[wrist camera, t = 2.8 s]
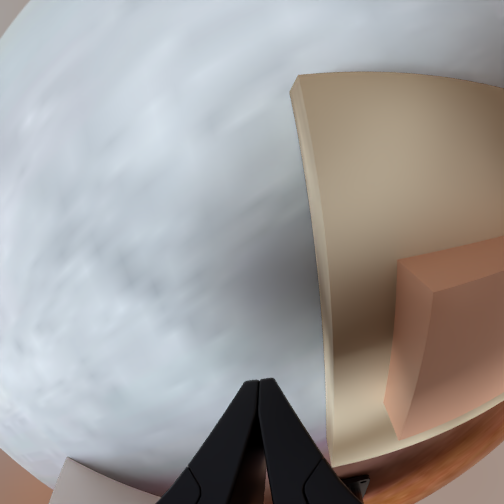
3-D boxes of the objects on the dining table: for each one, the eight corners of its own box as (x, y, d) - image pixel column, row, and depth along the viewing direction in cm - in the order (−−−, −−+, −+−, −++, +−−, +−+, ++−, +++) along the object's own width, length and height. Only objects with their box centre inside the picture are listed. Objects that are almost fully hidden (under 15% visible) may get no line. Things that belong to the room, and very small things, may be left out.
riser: (496, 377, 12) (510, 395, 10) (326, 438, 13) (331, 467, 11) (530, 106, 7) (559, 106, 5) (289, 91, 8) (298, 75, 6)
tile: (529, 338, 8) (550, 359, 6) (383, 402, 9) (398, 440, 7) (556, 221, 6) (586, 236, 5) (397, 259, 7) (433, 292, 5)
